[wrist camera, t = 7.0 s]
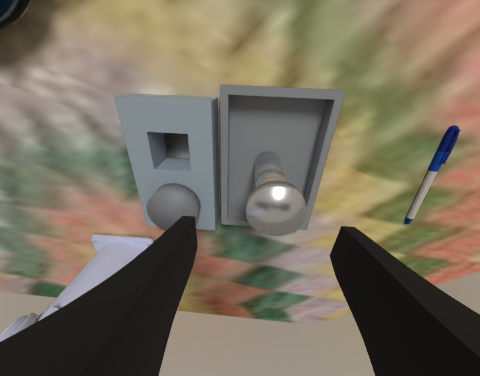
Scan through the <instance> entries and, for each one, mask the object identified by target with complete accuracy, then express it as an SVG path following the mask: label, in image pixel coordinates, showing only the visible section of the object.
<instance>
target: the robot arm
mask: <svg viewBox="0 0 480 376" xmlns="http://www.w3.org/2000/svg"><path fill="white" fill-rule="evenodd" d="M91 240H92V242H93V244H94V246H95V248H96V251H97V254H96V255H95V256H94V257H93V258H92V259H91V260H90V261H89V263H88V264H87V265H86V266H85V267H84V268H83V269H82V270H81V271H80V273H79V274H78V275H77V276H76V277H75V278H74V279H73V280H72V281H71V283H70V284H69V285H68V286H67V287H66V288H65V289H64V290H63V292H62V293H61V294H60V295H59V296H58V297H57V298H56V299H55V300H54V302H53V303H52V304H51V305H50V306H49V307H48V308H47V309H46V311H44V312H43V313H42V314H40V315H37V314H35V313H30V314H29V315H27V316H23V317H19V318H18V319H16V321H14V322H13V323H12V324H11V325H10V326H9V327H8V328H7V329H6V330H5V331H4V332H3V333H2V334H1V335H0V376H158V375H159V371H160V367H161V364H162V360H163V356H164V352H165V348H166V344H167V341H168V337H169V334H170V330H171V326H172V323H173V320H174V317H175V314H176V311H177V308H178V305H179V303H180V300H181V297H182V294H183V292H184V289H185V286H186V283H187V281H188V278H189V275H190V272H191V270H192V267H193V263H194V259H195V255H196V251H197V235H196V224H195V216H182V217H180V218H179V219H178V220H177V221H176V222H175V223H174V224H173V225H172V226H171V227H170V228H169V229H168V230H167V231H165V232H164V233H163V234H162V235H161V236H160V237H159V238H158V239H157V240H155V241H153V239H151V238H142V237H127V236H112V235H97V234H94V235H92V236H91ZM330 258H331V262H332V266H333V269H334V272H335V275H336V278H337V280H338V282H339V285H340V287H341V289H342V292H343V294H344V296H345V298H346V301H347V303H348V305H349V307H350V310H351V312H352V314H353V316H354V319H355V321H356V323H357V325H358V328H359V330H360V333H361V335H362V338H363V340H364V343H365V346H366V349H367V352H368V355H369V358H370V361H371V364H372V367H373V370H374V373H375V376H480V315H479V314H478V313H476V312H474V311H473V310H471V309H470V308H468V307H466V306H465V305H463V304H462V303H460V302H459V301H457V300H455V299H454V298H452V297H451V296H449V295H448V294H446V293H445V292H443V291H442V290H440V289H438V288H437V287H436V286H434V285H433V284H431V283H430V282H428V281H427V280H425V279H424V278H423V277H421V276H420V275H418V274H417V273H415V272H414V271H413V270H411V269H410V268H408V267H407V266H406V265H404V264H403V263H402V262H400V261H399V260H398V259H396V258H395V257H394V256H392V255H391V254H390V253H388V252H387V251H386V250H384V249H383V248H382V247H380V246H379V245H378V244H377V243H375V242H374V241H373V240H371V239H370V238H369V237H367V236H366V235H365V234H363V233H362V232H361V231H359V230H358V229H356V228H355V227H345V226H341V229H340V231H339V234H338V236H337V239H336V241H335V244H334V246H333V249H332V251H331V254H330Z"/></svg>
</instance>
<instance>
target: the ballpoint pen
mask: <svg viewBox="0 0 480 376" xmlns="http://www.w3.org/2000/svg"><path fill="white" fill-rule="evenodd" d="M459 132H460V129H459V127H458V126H451V127H449V129H448V130H447V132H446V134H445V136H444V137H443V140H442V142H441V144H440V146H439V148H438V150H437V152H436V154H435V156H434V158H433V160H432V164H431V166H430V168H429V170H428V173H427V175H426V177H425V179H424V181H423V183H422V185H421V187H420V189H419V191H418V193H417V195H416V198H415V200H414V202H413V204H412V206H411V208H410V210H409V212H408V214H407V216H406V221H405V223H406V224H409V223H410V222H411V221H412V220H413V219H414V217H415V215H416V213H417V211H418V209H419V207H420V205H421V203H422V201H423V199H424V197H425V195H426V193H427V191H428V189H429V187H430V185H431V183H432V181H433V179H434V177H435V175H436V173H437V171H438V170H439V168H440V167H441V165H442V164H445V162H446V160H447V158H448V157H449V155H450V153H451V151H452V149H453V147H454V145H455V143H456V140H457V138H458V135H459ZM446 154H447V155H446ZM445 156H446V157H445Z"/></svg>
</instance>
